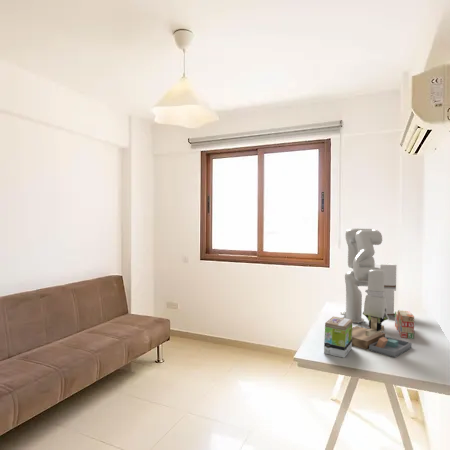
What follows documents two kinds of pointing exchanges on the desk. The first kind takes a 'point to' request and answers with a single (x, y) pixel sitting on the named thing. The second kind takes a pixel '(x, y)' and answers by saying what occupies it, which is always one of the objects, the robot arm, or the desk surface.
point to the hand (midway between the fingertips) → (375, 329)
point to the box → (391, 348)
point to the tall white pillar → (389, 286)
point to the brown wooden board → (364, 337)
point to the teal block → (392, 343)
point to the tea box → (338, 336)
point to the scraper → (374, 327)
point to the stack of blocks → (404, 323)
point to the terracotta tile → (381, 342)
